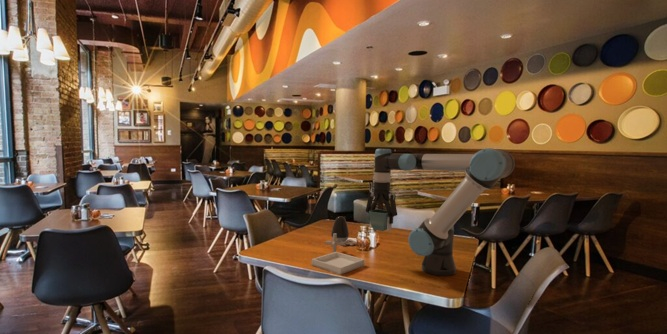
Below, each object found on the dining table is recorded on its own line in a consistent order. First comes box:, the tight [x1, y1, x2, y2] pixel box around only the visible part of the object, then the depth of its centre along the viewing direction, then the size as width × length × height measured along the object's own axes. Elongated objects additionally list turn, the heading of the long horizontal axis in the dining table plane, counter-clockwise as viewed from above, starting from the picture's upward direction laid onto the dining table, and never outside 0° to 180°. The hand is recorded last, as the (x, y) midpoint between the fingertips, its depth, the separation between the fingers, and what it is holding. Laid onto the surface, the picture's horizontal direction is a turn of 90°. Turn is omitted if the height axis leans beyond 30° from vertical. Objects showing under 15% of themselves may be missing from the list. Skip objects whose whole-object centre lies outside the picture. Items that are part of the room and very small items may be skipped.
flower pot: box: [368, 208, 389, 232], centre depth 172 cm, size 9×9×9 cm
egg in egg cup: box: [330, 215, 350, 243], centre depth 213 cm, size 10×10×15 cm
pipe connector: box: [324, 233, 345, 253], centre depth 191 cm, size 10×10×10 cm
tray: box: [311, 251, 365, 276], centre depth 170 cm, size 18×18×3 cm
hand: (380, 228), depth 172 cm, fingers closed on flower pot, 9 cm apart
